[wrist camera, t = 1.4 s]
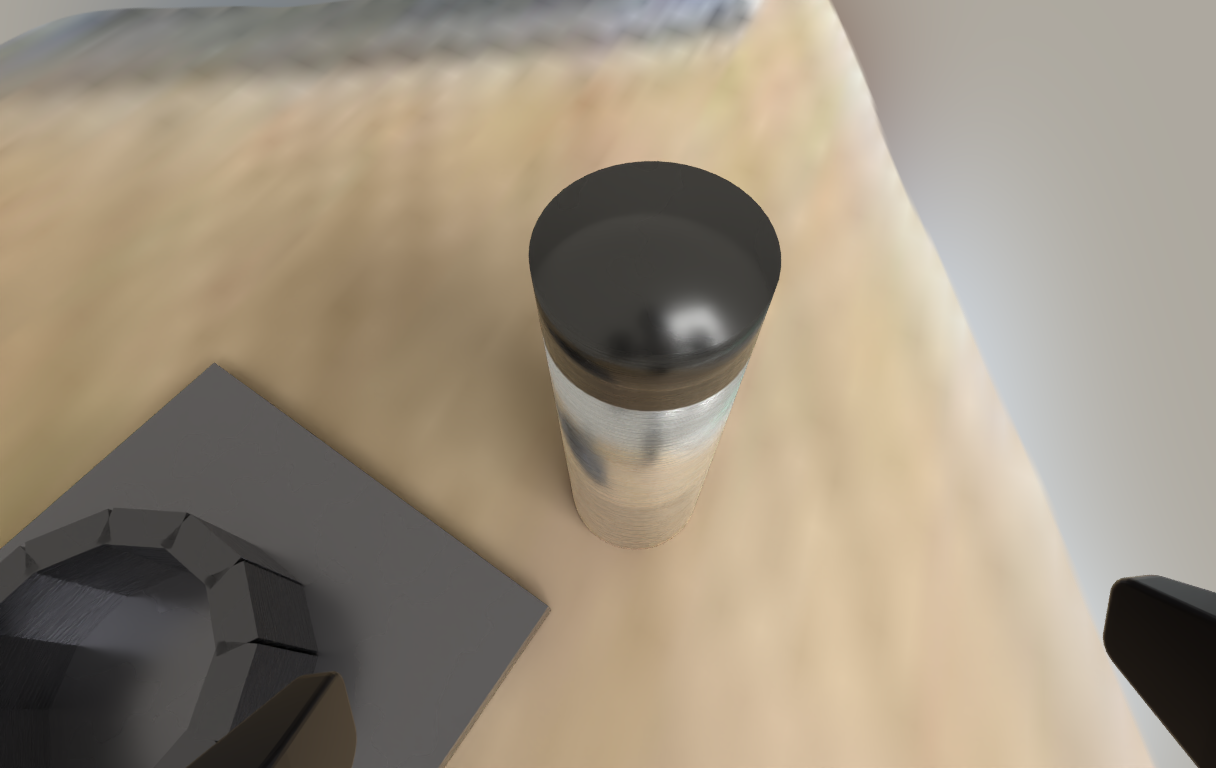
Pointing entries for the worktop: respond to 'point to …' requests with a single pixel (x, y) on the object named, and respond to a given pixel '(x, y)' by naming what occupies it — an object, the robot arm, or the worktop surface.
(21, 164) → the worktop surface
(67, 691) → the firebox collar
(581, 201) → the black capped shaker
